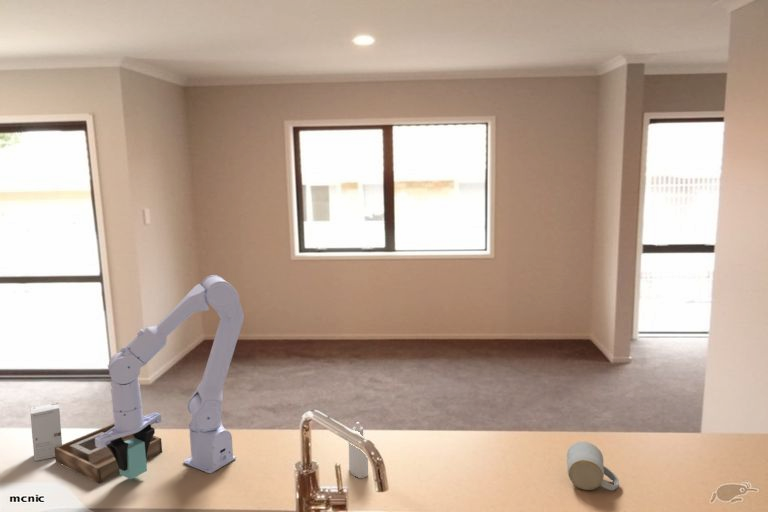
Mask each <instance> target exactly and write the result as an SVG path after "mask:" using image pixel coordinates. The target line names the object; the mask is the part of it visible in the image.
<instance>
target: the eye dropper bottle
mask: <svg viewBox="0 0 768 512" xmlns="http://www.w3.org/2000/svg"><path fill="white" fill-rule="evenodd" d="M352 430H355V431H358V432H360V434H361V435H362V436H363V437H364V428H363V426H361V424H360V422H359V421H356V423H355V425H354V426H353V427H352ZM352 430H351V431H352ZM348 469H349V472H350V474H352V476H354V477H355V476H356V477H355V478H357V477H358V479H363V478H367V477H368V476H369V457H368V458H367V457H366V455H365V454H364V453H363V452H362V451H361V450H360V449H358V448H356V447H355V446H353V445H351V444H350V443H349V442H348Z"/></svg>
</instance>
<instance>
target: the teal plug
mask: <svg viewBox="0 0 768 512" xmlns="http://www.w3.org/2000/svg"><path fill="white" fill-rule="evenodd" d="M125 443H128V448H127V464H128V466H127V470H126V471H123V470H121V469H119V471H120V473H119V475H120V476H122V477H124V478H127V479H128V480H132V479H135V478H136V477H138V476H140V475H142V474H144V473H145V472H147V471H148V468H147V460H146V453H145V442H144V441H141V440H139V439H136V438H134V437H133V438H131V439H129V440H127V441H125Z"/></svg>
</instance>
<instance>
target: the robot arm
mask: <svg viewBox="0 0 768 512" xmlns="http://www.w3.org/2000/svg"><path fill="white" fill-rule="evenodd" d="M209 305H210V306H211V307H212V308H214V310H215V312H216V313H217V315H218V316H219V318H220V319H219V323H218V326H217V330H216V333H215V335H214V339H213V343H212V346H211V350H210V353H209V357H208V359H207V363H206V366H205V369H204V372H203V376H202V379H201V381H200V383H199V384H198V385H197V387H196V390H195V392H194V393H193V395H192V396H191V397H190V398H189V400H188V402H187V410H188V412H189V414H191V420H190V422H189V426H188V427H189V441H190V454H191V455H190V457H188V458H186V459H184V460H183V464H186V465H187V466H190V467H193V468H195V469H198V470H200V471H203V472H205V473H207V474H212V473H214V472H215V471H217V470H219V469H221V468H223V467H224V466H227V464H229V463H231V462H232V461H234V460H236V459H237V457H236V456H235V455H234V454H233V453H234V451H233V437H232V436H233V435H232V434H231V432H230V430H227V429H226V428H225V427H224V425H223V422H222V419H223V412H222V407H223V406H222V405H223V401H224V400H223V399H224V398H223V395H224V394H223V388H224V385H225V381H226V379H227V376H228V373H229V369H230V365H231V362H232V359H233V356H234V354H235V353H234V352H235V350H236V349H235V348H236V345H237V342H238V339H239V336H240V333H241V329H242V326H243V323H244V317H245V315H244V310H243V307H242V305H241V300H240V294H239V292H238V291H237V290H236V288H235V287H234V286H233V285H232V284H231V283H230V282H227V281H226V280H225V279H224V278H223V277H221V276H220V275H216V274H212V275H208V276H205V278H204V279H203V280H201V282H200V283H198V284H196V285H194V287H193V288H192V289H191V290H190V291H189V292H187V294H186V295H185V296H184V297H183V298H182V299H181V300H180V301H179V302H178V303H177V304H176V305H175V306H174V307H173V308H172V310H170V311H169V312H168V313H167V314H166V315H165V316H164V318H163V319H162V320H160V322H158V323H157V325H152V326H146V328H144V329H142V328H140V329H138V331H137V332H136V334H137V336H136V337H135V338H134V339H132V341H130V342H129V343H128V344H127V345H126V346H122V347H121V348H120V349H119V351H120V352H116V353H115V354H113V355H112V357H110V359H109V362H108V364H107V368H108V372H109V377H110V379H111V380H110V386H111V389H110V393H111V403H112V404H111V405H112V413H113V422H114V423H113V424H114V425H115V426H114V427H113V428H111V429H110V430H108V431H107V432H105V433H104V434H102V435H101V436H99V437H97V438H95V446H96V447H97V448H100V449H102V448H104V447H105V445H106V446H107V447H108V448H109V449H110V451H111V452H112V454H113V455H114V457H115V459H116V461H117V464H118V467H119V469H121V470H123V471H126V470H127V466H128V464H127V448H128V443H125V442H124V440H122V438H123V437H125V436H127V435H131V434H133V435H134V438H136V439H139V440H141V441H144V442H145V453H146V457H147V452H148V447H149V444H150V441H151V439H152V437H153V436H155V434H156V431H155V430H156V429H155V428H154V427H152V425H154V424H160V423H161V422H162V414H161V413H158V412H156V411H155V412H153V413H150V414H147V415H143V414H144V413H143V404H142V395H141V384H140V383H139V377H140V373H141V368H143V367H145V366H146V365H147V364H148V363H149V362H150V361H151V360H152V359H153V358H154V357H155V356H156V355H157V354H158V353H159V352H160V351H161V350H162V349H163V348H165V347H166V346H167V344H168V336H169V335H170V334H171V333H172V332H174V331H175V330H176V329H177V328H179V327H180V325H182V324H183V323H184V322H185V321H186V320H188V319H189V317H190V316H192V315H193V314H194V313H196V312H205V311H210V307H209Z"/></svg>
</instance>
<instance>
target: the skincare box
mask: <svg viewBox="0 0 768 512" xmlns="http://www.w3.org/2000/svg"><path fill="white" fill-rule="evenodd" d="M29 408H30V424H31V437H32V448H33V449H32V450H33V460H34V461H35V462H38V461H42V460H47V459H51V458H54V457H55V449H54V448H56V447H58V446H60V445H63V440H62V439H63V438H62V425H61V414H60V413H61V412H60V404H59V402H54V403H47V404H43V405H39V406H33V407H29Z"/></svg>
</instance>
